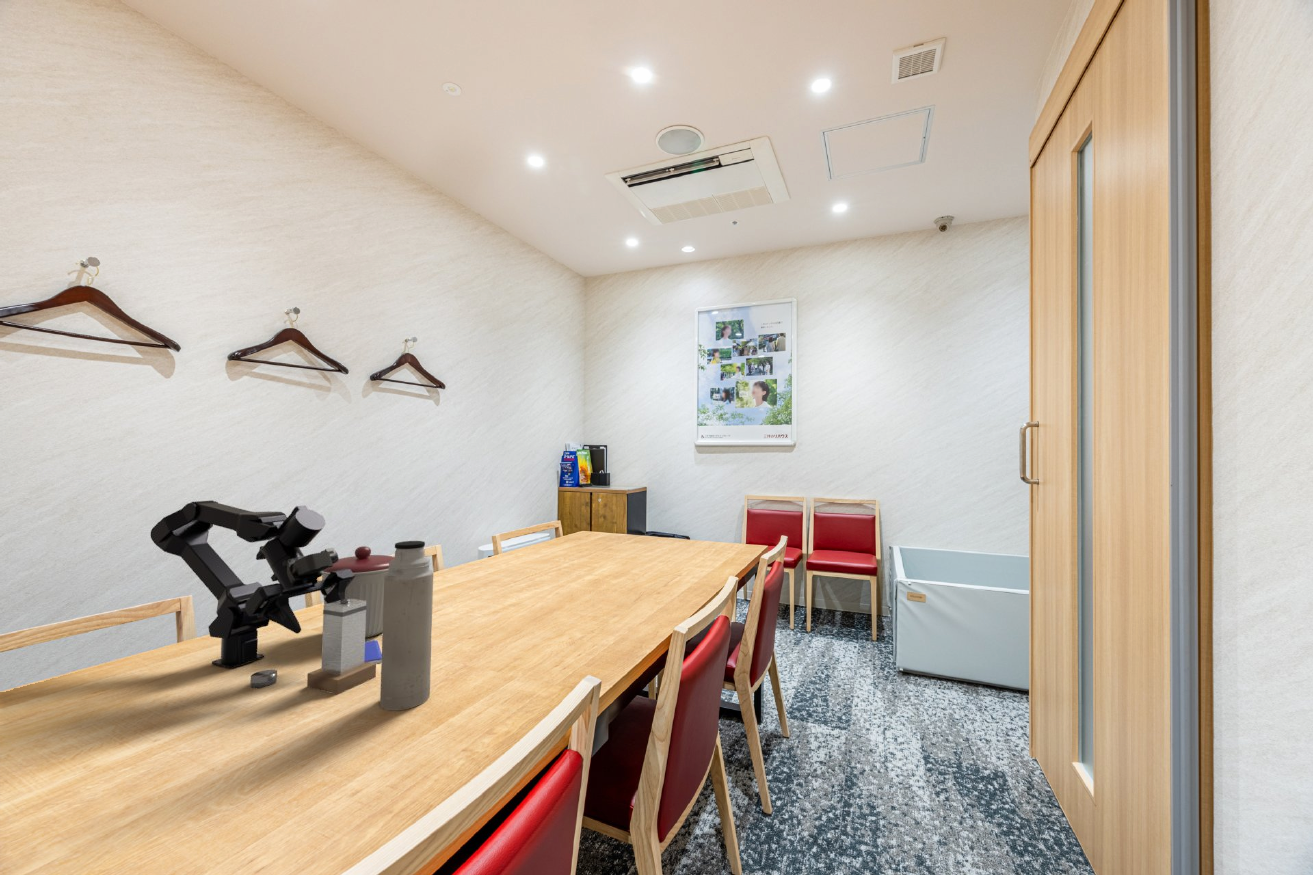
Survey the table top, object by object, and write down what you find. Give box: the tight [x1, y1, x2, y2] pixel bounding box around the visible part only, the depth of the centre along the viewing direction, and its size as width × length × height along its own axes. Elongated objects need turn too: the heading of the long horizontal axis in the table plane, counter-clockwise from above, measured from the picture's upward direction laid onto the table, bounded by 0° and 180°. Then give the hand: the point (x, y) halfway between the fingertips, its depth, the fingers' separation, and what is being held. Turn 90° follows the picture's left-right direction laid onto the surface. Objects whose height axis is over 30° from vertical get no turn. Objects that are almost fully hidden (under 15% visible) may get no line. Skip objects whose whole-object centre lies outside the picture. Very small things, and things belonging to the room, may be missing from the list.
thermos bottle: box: [379, 540, 434, 711], centre depth 91 cm, size 8×8×28 cm
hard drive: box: [364, 639, 382, 665], centre depth 110 cm, size 2×8×12 cm
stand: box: [306, 661, 377, 695], centre depth 97 cm, size 8×8×2 cm
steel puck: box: [249, 669, 278, 689], centre depth 96 cm, size 4×4×2 cm
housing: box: [320, 598, 367, 676], centre depth 98 cm, size 5×5×13 cm
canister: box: [321, 545, 395, 639], centre depth 125 cm, size 18×18×21 cm
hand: (322, 624), depth 100 cm, fingers open, 9 cm apart
